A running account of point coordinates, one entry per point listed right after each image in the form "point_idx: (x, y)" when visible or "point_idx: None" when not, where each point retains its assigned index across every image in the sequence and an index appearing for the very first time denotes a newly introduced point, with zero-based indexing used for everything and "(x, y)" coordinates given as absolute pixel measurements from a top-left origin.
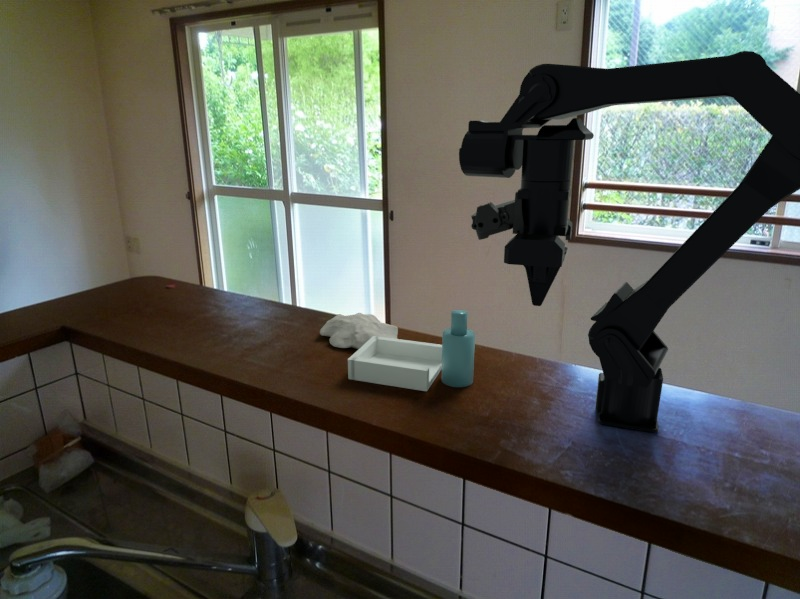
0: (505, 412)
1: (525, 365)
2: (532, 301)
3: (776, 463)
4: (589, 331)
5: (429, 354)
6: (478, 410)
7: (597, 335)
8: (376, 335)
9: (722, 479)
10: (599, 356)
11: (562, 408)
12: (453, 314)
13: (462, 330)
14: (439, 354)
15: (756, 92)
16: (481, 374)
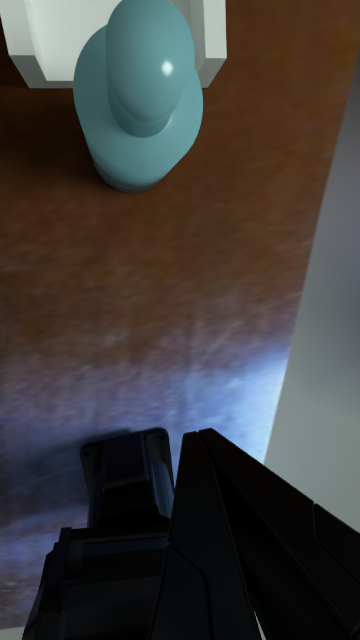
0: (36, 300)
1: (262, 279)
2: (182, 446)
3: None
4: (65, 605)
5: (194, 18)
6: (11, 247)
7: (40, 630)
8: None
9: (20, 578)
10: (53, 565)
11: (109, 384)
12: (109, 20)
13: (119, 116)
14: (198, 54)
15: None
16: (185, 201)
